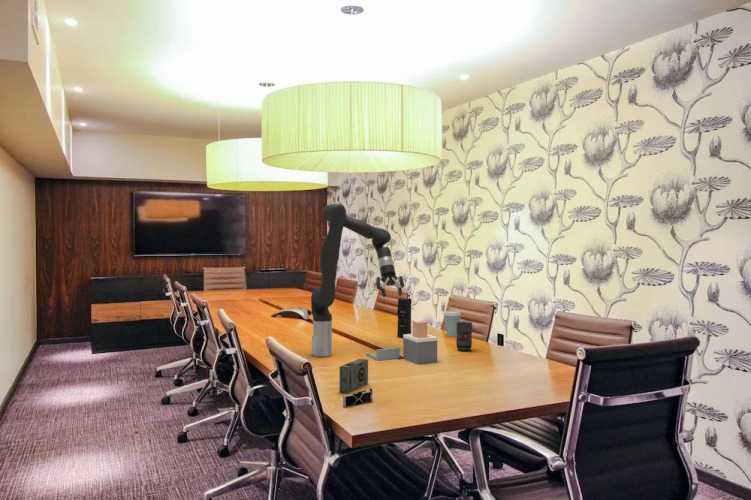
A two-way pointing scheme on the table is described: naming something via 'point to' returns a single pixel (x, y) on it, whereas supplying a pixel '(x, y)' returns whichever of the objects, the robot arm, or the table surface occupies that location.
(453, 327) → the disposable coffee cup
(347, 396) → the graphics card
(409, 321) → the portable radio
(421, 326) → the plug block
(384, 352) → the low dock
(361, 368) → the camera
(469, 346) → the camera lens
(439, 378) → the table surface
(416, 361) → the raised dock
